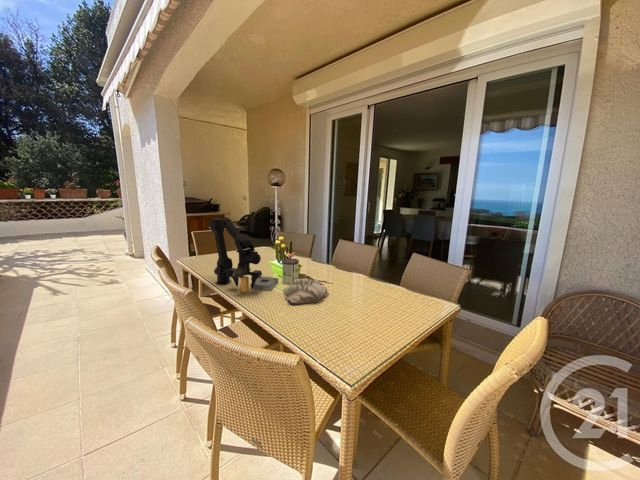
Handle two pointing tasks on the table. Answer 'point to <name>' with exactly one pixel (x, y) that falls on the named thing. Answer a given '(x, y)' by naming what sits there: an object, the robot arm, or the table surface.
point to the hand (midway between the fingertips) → (244, 287)
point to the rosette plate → (265, 283)
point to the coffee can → (290, 270)
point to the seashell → (305, 291)
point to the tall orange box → (244, 284)
